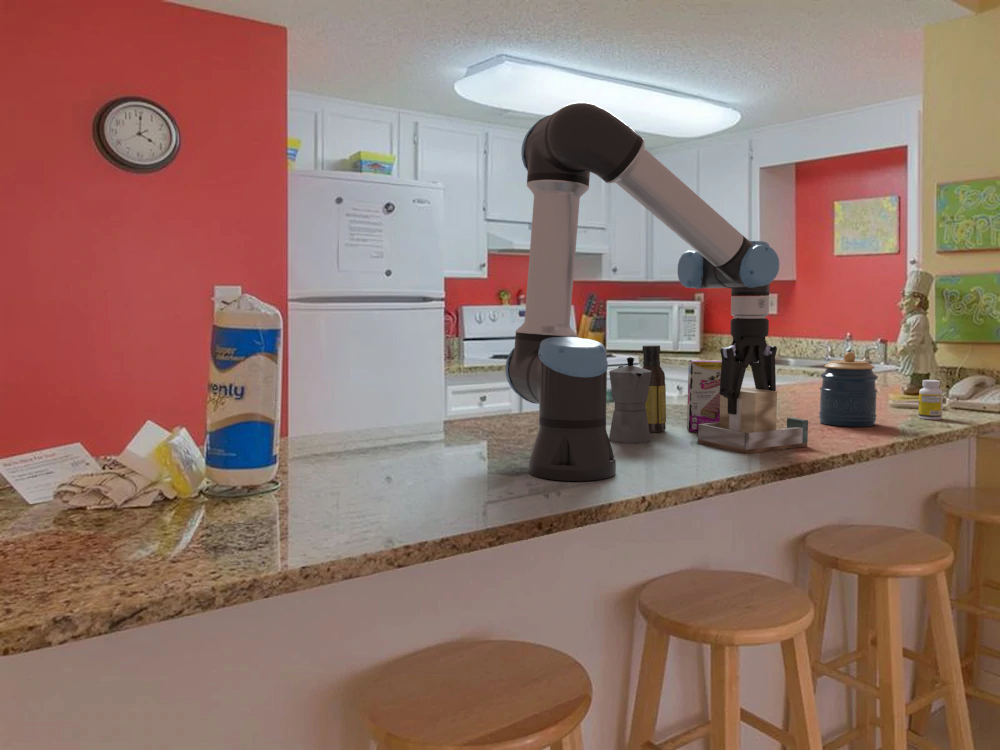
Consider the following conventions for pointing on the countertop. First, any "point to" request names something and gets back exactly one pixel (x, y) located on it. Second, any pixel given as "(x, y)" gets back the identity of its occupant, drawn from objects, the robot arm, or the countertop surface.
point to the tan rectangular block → (753, 410)
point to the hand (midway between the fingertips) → (747, 428)
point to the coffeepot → (630, 404)
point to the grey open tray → (755, 437)
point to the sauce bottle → (655, 389)
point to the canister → (848, 393)
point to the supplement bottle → (930, 400)
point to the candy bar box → (703, 393)
